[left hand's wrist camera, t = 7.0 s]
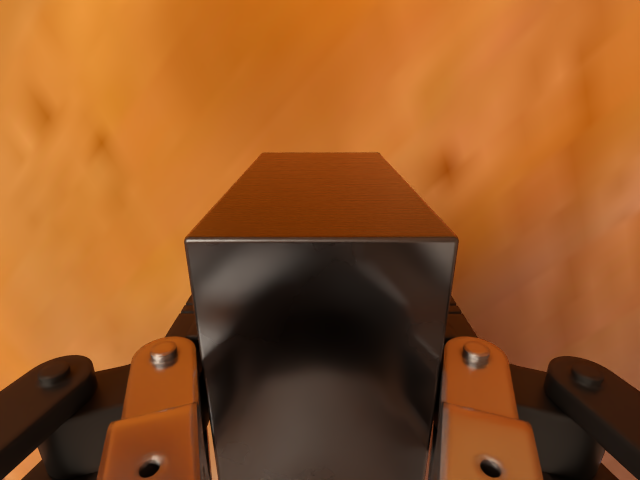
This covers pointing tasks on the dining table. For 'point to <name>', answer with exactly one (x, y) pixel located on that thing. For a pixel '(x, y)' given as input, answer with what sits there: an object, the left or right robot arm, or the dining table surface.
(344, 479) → the bar
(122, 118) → the dining table surface
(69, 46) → the dining table surface
